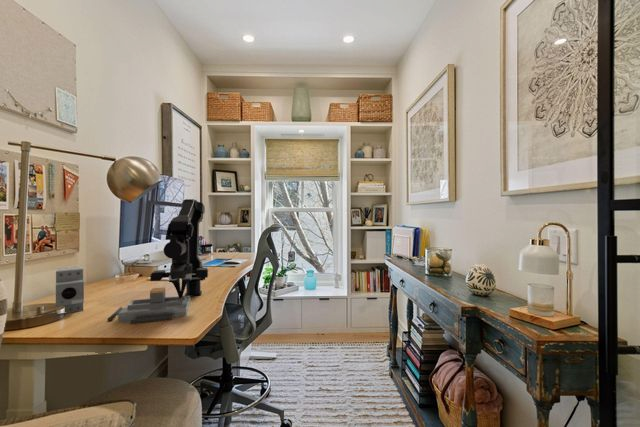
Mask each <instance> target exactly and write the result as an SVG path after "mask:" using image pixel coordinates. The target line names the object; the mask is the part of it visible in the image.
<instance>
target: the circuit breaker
mask: <svg viewBox="0 0 640 427" xmlns="http://www.w3.org/2000/svg"><path fill="white" fill-rule="evenodd" d="M84 285H85V281H84V268H83V266H73V267H60V268H56V269H55V308H56V307H59V306H65V312H66V313H65V314H70V313H77V312H81V311H82V312H83V311H84V302H85V299H84V298H85V297H84V296H85V286H84Z"/></svg>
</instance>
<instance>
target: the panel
mask: <svg viewBox="0 0 640 427" xmlns="http://www.w3.org/2000/svg"><path fill="white" fill-rule="evenodd" d="M190 306H191V296H185V295H183V296H182V298H179V296H170V297H169V296H168V297H166V296H165V301H164V302H159V303H150V298H142V299H140V298H139V299H132V300H130V301H129V302H128V303H126V305H125V306H124V307H122V308H123V309H122V310H121V311H120V312H119V313H118V315H117V316H118V317H117V318H118V319H117V320H118V323H126V322H130V320H133V319H144V318H155V317H165V316H172V318H178V317H187V315H188V312H189V309H190Z"/></svg>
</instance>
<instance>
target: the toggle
mask: <svg viewBox="0 0 640 427" xmlns="http://www.w3.org/2000/svg"><path fill="white" fill-rule="evenodd" d="M165 297H166V286H165V287H153V288H152V289H151V290H149V299H150V303H159V302H164V301H165Z"/></svg>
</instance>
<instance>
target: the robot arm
mask: <svg viewBox="0 0 640 427" xmlns="http://www.w3.org/2000/svg"><path fill="white" fill-rule="evenodd" d="M197 200H198V199H194V198H193V199H190V198H186V199H183V200H182V203H181V205H182V206H181V208H180V211H179V213H178V215H177V216H175V217H172V219H171V220H170V222H169V223H168V224H167V228H166V235H165V241H168V240H169V242H167V243H166V244H165V245H164V247H163V253H164V255H165V257H167V258H168V259H171V265H170V270H169V271H166V269H159V270H154V271H153V272H151V273H150V279H149V280H150V282H159V281H161V280H162V279H165V278H168V282H169V283H172V285H173V286H174V288H175V291H176V292H177V295H178V296H179V298H182V296H190V297H195V296H202V290H201V289H202V288H201V285H202V283H201V281H205V280H206V278H208V277H209V269H208V267H204V266H203V262H202V260H201V259H200V257H199V241H200V236H199V235H200V224H201V222H202V220H203V219H204V214H205V212H206V211H205V204H204V203H203V202H200V201H197ZM180 279H181V280H180ZM185 289H186V290H185ZM184 292H185V293H184ZM178 296H177V297H178Z"/></svg>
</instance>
